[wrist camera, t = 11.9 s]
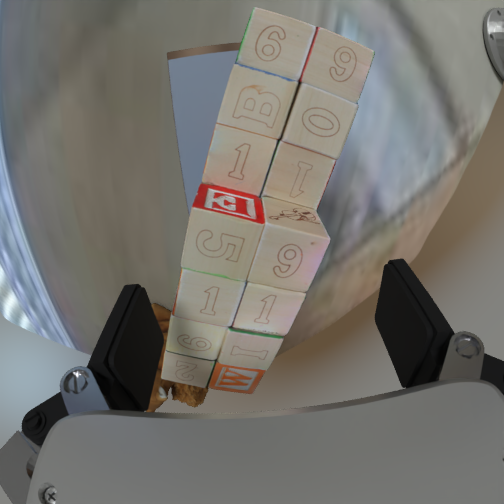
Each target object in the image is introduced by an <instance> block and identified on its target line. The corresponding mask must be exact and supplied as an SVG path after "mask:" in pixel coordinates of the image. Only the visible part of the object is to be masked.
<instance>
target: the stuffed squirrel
mask: <svg viewBox="0 0 504 504" xmlns="http://www.w3.org/2000/svg"><path fill="white" fill-rule="evenodd" d="M151 306H152V308H153V311H154V313H155V316H156V318H157V321H158V323H159V326H160V328H161V331H162V333H163V336H164V345H163V349H162V353H161V357H160V361H159V365H158V369H157V373H156V377H155V381H154V386H153V390H152V394H151V399H150V403H149V408H148V410H147V411H146V412H155V410H156V409H157V408H158V407H160V406H161V405H162V404H163V402H164V401H166V400H167V399H168V397H167V396H168V391H169V389H170V387H171V388H172V395H173V399H172V400H177V399H178V400H179V401H181V402H186V403H187V405H189V406H192V407H197V406H198V405H199V404H200V405H201V404H202V403H203V401H204V399H205V396H206V393H207V392H208V386H206V387H205V388H202V387H198V386H193V385H188V384H183V383H178V382H174V381H169V380H165V379H162V378H161V372H162V365H163V358H164V352H165V348H166V342H167V336H168V330H169V323H170V317H171V311H170V310H168V309H166V308H164V307H162V306H160V305H158V304H156V303H153V304H152V305H151Z"/></svg>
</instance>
